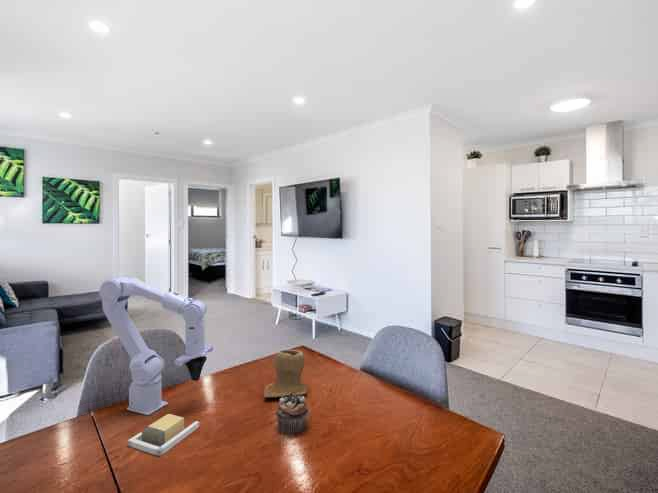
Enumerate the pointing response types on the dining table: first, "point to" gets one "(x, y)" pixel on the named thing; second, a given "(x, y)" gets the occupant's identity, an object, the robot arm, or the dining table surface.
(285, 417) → the cupcake
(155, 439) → the block
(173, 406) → the dining table surface
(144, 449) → the end holder
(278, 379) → the stone cup
